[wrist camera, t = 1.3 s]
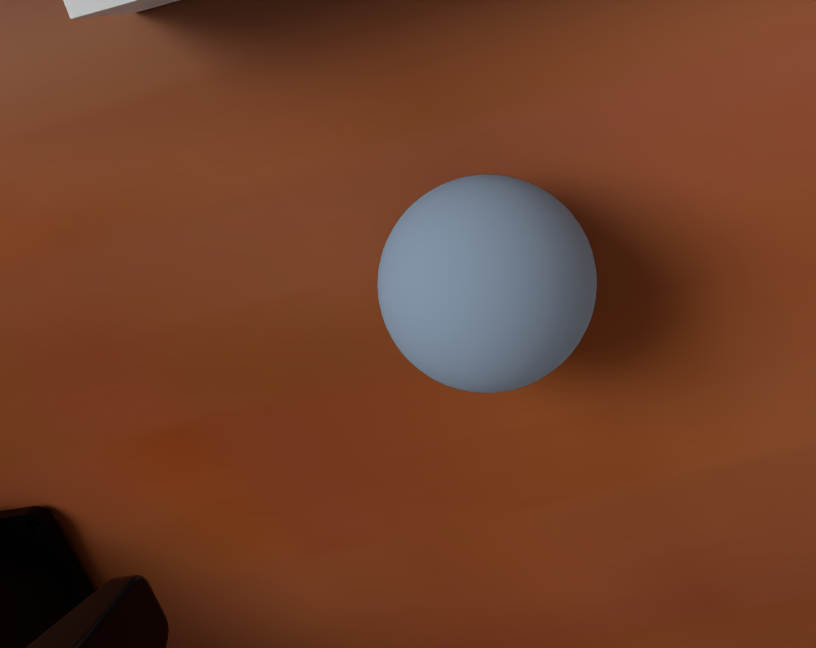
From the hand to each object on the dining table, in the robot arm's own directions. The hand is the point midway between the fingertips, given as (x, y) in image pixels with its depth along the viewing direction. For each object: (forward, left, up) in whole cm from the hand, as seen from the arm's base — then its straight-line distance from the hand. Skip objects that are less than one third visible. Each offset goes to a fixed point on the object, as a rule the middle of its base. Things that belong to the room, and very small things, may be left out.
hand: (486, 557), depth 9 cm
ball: (0, 0, -11) cm, 11 cm away
